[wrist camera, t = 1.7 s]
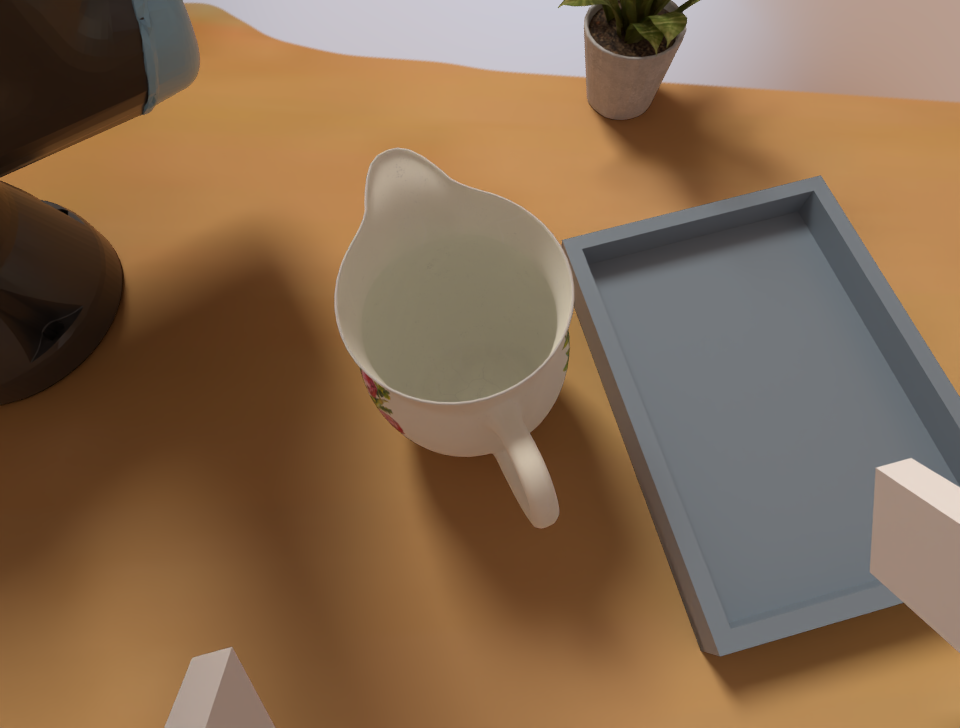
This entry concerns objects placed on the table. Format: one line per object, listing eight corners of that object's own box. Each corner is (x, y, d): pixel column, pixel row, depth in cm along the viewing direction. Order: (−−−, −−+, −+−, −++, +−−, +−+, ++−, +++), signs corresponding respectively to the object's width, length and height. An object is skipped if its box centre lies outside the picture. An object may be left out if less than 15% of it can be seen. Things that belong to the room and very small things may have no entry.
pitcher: (454, 580, 32) (418, 571, 19) (352, 323, 39) (275, 191, 26) (625, 499, 33) (695, 441, 21) (498, 264, 40) (492, 109, 27)
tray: (558, 265, 40) (562, 240, 37) (799, 204, 41) (820, 175, 38) (700, 651, 30) (720, 656, 27) (1011, 560, 31) (1059, 557, 28)
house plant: (753, 150, 43) (886, -95, 28) (578, 196, 42) (617, -30, 27) (677, 25, 48) (754, -237, 33) (521, 63, 47) (526, -187, 32)
